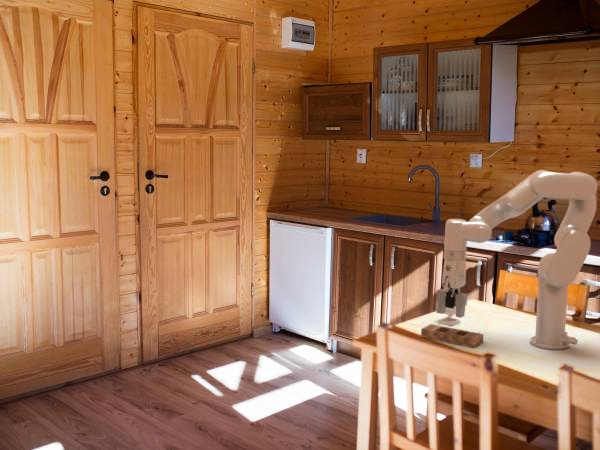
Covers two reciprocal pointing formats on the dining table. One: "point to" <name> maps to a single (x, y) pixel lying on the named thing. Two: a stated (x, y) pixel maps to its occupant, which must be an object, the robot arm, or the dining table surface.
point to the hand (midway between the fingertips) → (451, 306)
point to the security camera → (448, 320)
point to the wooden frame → (452, 335)
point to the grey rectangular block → (459, 302)
